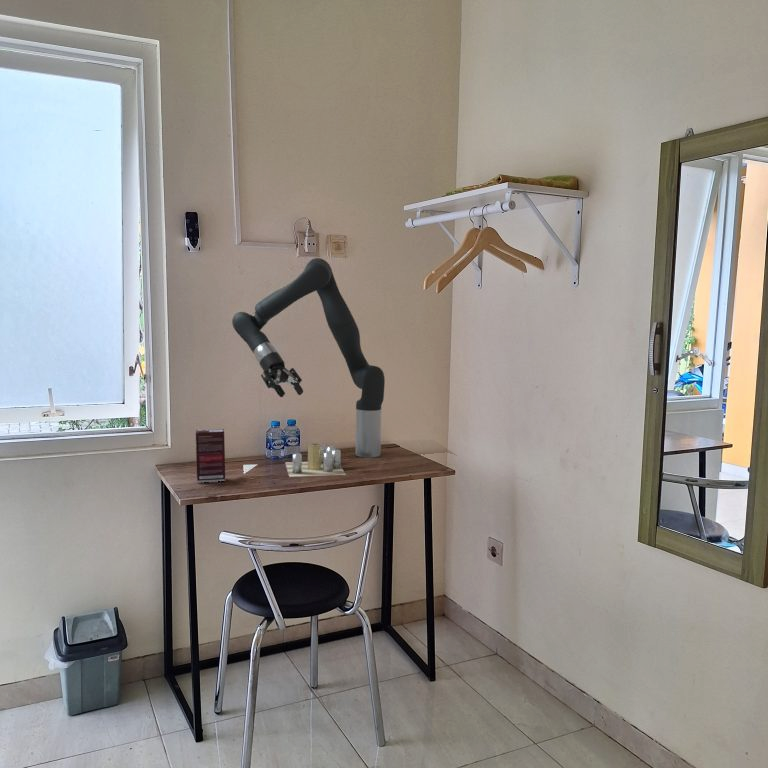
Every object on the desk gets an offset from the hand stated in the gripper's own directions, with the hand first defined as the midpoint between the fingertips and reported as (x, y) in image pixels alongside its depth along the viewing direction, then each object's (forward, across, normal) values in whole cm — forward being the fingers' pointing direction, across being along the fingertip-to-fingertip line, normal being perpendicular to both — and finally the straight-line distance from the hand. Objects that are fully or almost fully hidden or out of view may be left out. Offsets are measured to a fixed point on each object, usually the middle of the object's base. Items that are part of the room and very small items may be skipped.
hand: (292, 394), depth 234 cm
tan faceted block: (+24, 0, +9) cm, 26 cm away
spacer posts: (+23, +1, +10) cm, 26 cm away
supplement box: (+14, -30, +21) cm, 39 cm away
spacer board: (+25, 0, +10) cm, 27 cm away
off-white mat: (+15, -12, +19) cm, 28 cm away
